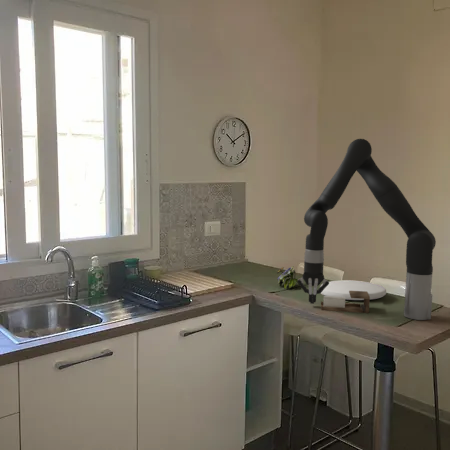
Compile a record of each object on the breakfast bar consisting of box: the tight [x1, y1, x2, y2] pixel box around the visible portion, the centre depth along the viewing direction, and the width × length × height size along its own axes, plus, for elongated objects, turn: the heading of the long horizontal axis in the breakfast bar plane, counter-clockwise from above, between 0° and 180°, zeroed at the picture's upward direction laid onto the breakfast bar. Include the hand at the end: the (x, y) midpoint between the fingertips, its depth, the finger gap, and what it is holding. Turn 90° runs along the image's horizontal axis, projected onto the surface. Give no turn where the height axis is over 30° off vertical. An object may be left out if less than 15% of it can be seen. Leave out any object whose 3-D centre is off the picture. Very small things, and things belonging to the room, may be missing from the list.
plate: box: [319, 279, 387, 301], centre depth 228 cm, size 28×6×27 cm
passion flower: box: [276, 266, 301, 290], centre depth 243 cm, size 11×11×12 cm
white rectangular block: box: [323, 295, 346, 308], centre depth 206 cm, size 8×5×4 cm, turn 81°
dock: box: [320, 291, 370, 314], centre depth 205 cm, size 18×8×7 cm, turn 81°
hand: (312, 303), depth 207 cm, fingers closed
